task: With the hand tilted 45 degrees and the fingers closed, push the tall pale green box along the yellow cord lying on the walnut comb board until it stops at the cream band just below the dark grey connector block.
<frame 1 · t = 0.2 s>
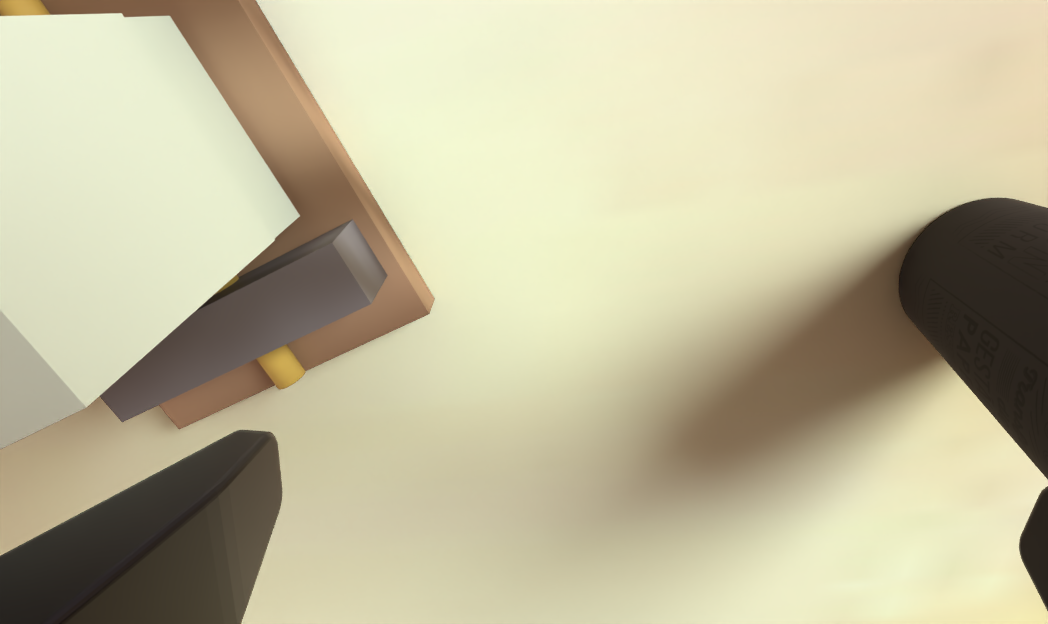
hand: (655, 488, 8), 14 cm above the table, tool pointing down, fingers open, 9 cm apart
comb board: (84, 38, 20), on the table
drinking cup: (971, 269, 22), on the table
tall pale green box: (16, 229, 15), point 7 cm above the table, slide at 0.0 cm
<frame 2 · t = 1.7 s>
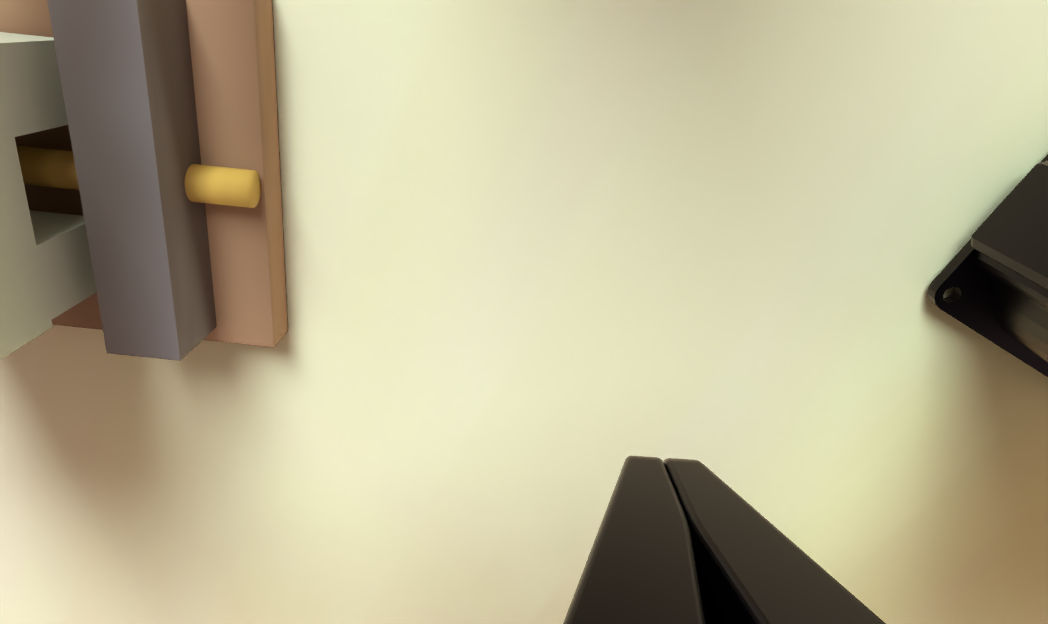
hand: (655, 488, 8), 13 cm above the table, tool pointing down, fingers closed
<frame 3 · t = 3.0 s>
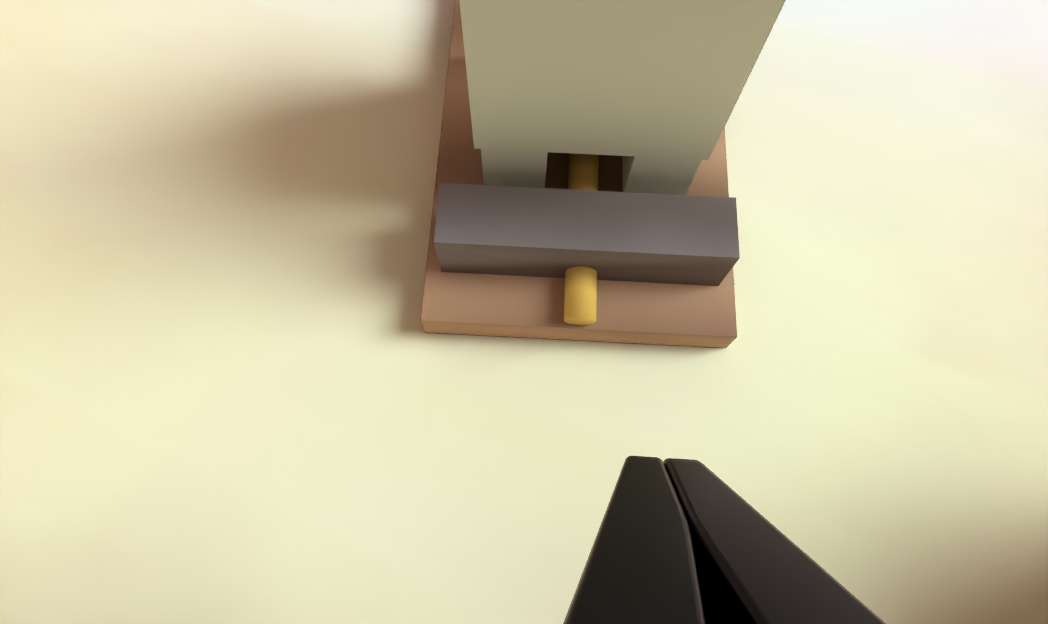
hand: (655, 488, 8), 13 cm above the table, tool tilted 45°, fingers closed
comb board: (582, 59, 27), on the table
tall pale green box: (603, 5, 19), point 7 cm above the table, slide at 0.0 cm
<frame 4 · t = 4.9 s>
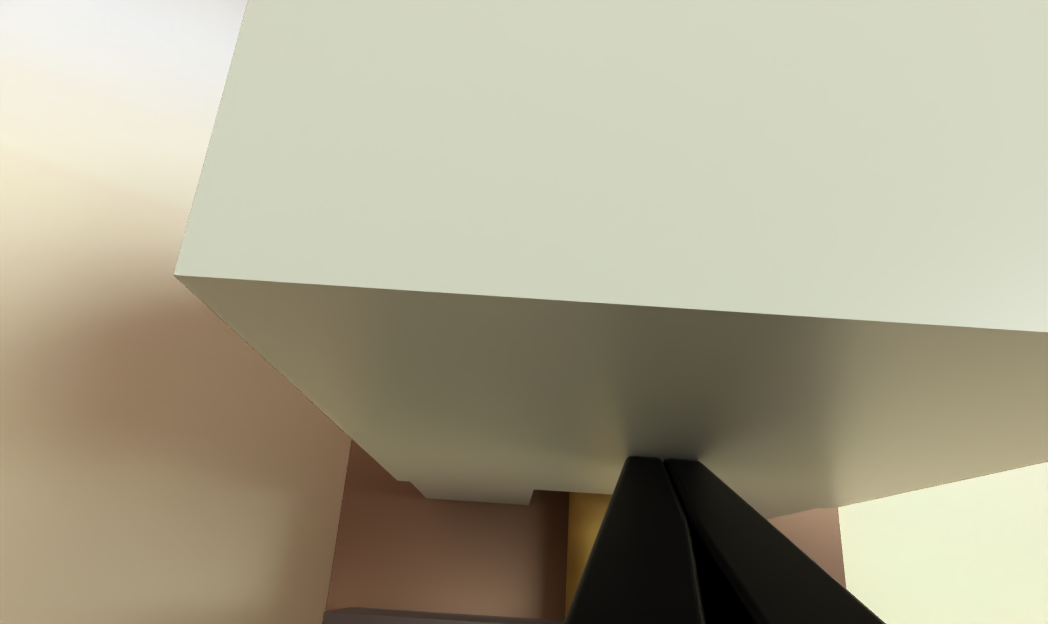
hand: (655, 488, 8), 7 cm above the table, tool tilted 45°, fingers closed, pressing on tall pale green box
comb board: (591, 275, 17), on the table
tall pale green box: (645, 252, 10), point 7 cm above the table, slide at 1.2 cm, touching gripper
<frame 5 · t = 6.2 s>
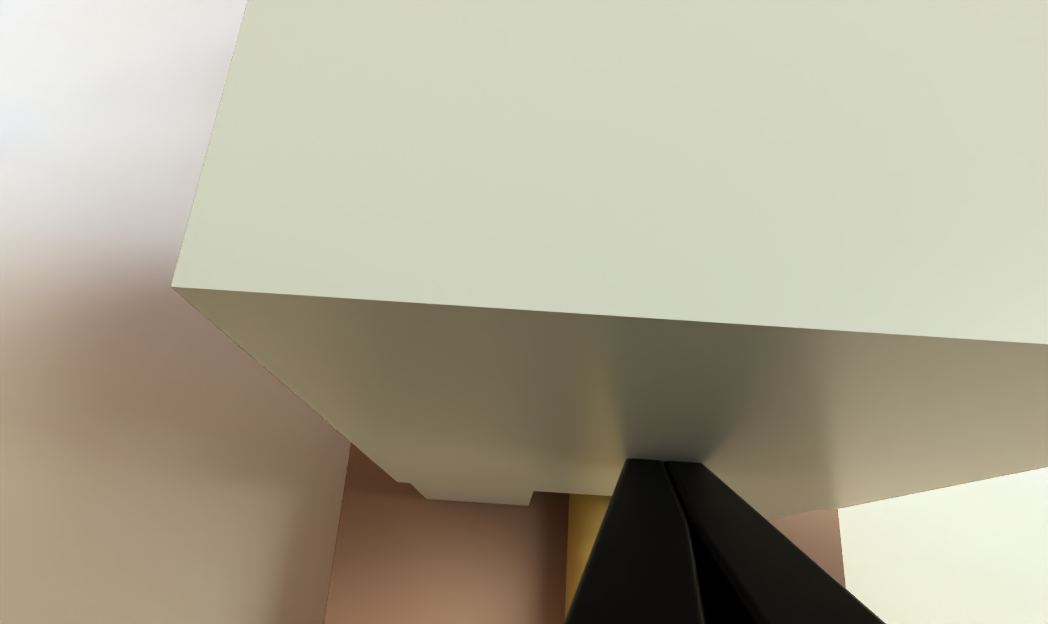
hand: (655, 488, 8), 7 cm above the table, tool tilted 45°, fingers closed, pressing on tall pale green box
comb board: (584, 526, 15), on the table
tall pale green box: (645, 254, 10), point 7 cm above the table, slide at 7.2 cm, touching gripper
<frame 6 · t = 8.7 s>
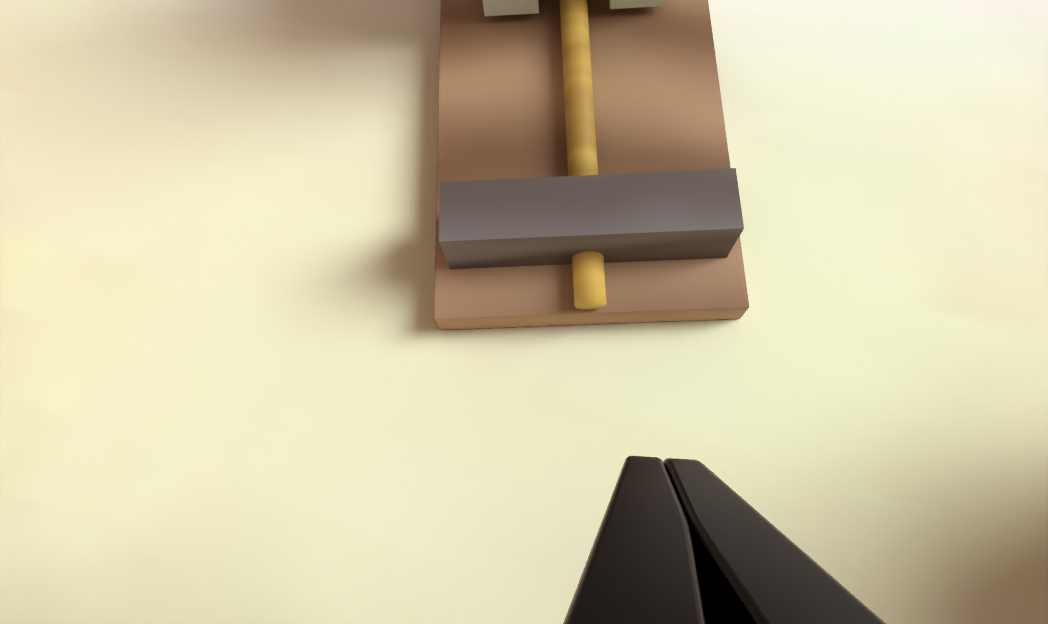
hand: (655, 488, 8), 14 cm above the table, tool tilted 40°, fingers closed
comb board: (573, 42, 27), on the table
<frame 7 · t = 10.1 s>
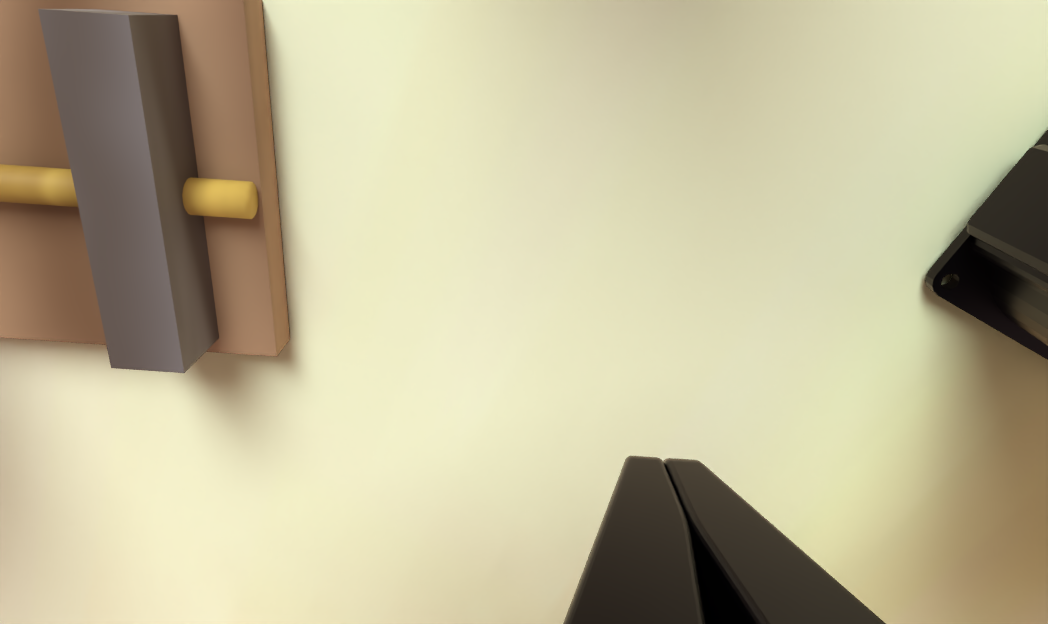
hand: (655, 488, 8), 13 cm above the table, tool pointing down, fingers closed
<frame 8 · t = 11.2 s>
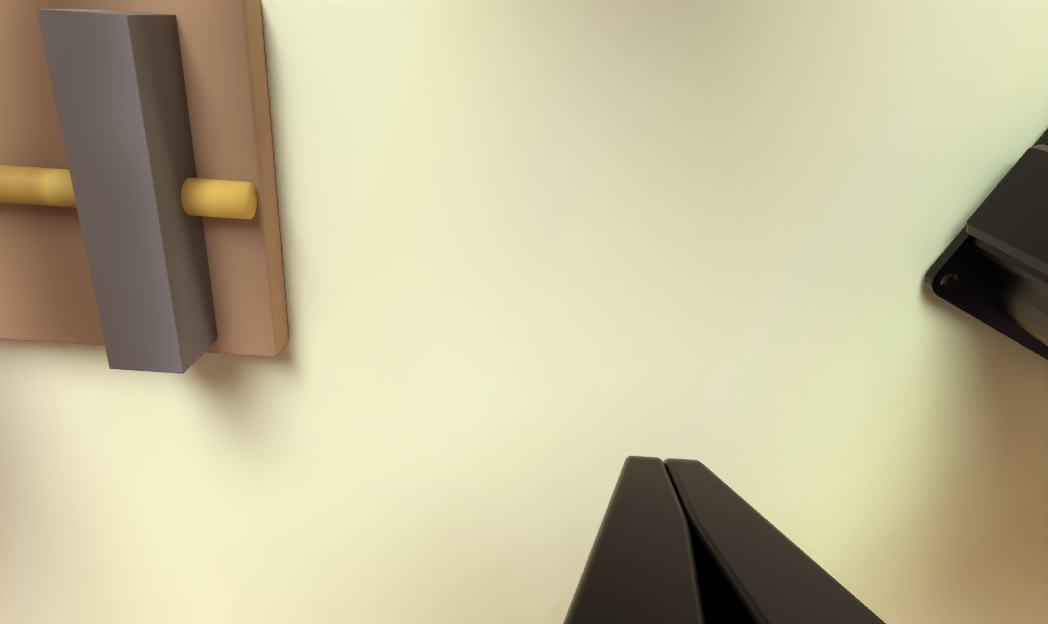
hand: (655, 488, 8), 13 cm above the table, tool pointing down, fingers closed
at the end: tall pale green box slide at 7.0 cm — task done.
